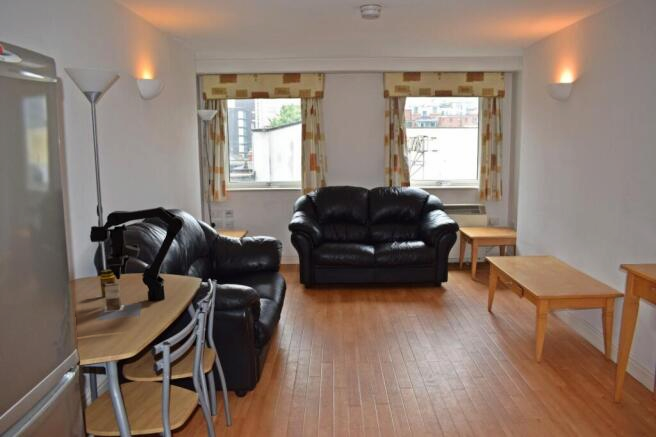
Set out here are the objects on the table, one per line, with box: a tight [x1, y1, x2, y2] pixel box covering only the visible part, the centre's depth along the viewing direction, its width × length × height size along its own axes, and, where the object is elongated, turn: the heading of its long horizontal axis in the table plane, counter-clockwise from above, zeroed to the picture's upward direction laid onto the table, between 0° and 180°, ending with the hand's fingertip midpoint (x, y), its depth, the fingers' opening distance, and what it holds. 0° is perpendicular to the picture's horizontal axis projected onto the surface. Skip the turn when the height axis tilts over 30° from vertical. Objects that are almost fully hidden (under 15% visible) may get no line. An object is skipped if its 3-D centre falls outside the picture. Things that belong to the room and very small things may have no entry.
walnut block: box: [105, 295, 122, 311], centre depth 225 cm, size 5×5×5 cm
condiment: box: [95, 268, 116, 299], centre depth 247 cm, size 7×8×12 cm
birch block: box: [105, 282, 121, 300], centre depth 225 cm, size 5×5×5 cm
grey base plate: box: [96, 302, 143, 322], centre depth 222 cm, size 16×18×1 cm
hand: (121, 276), depth 233 cm, fingers open, 9 cm apart
